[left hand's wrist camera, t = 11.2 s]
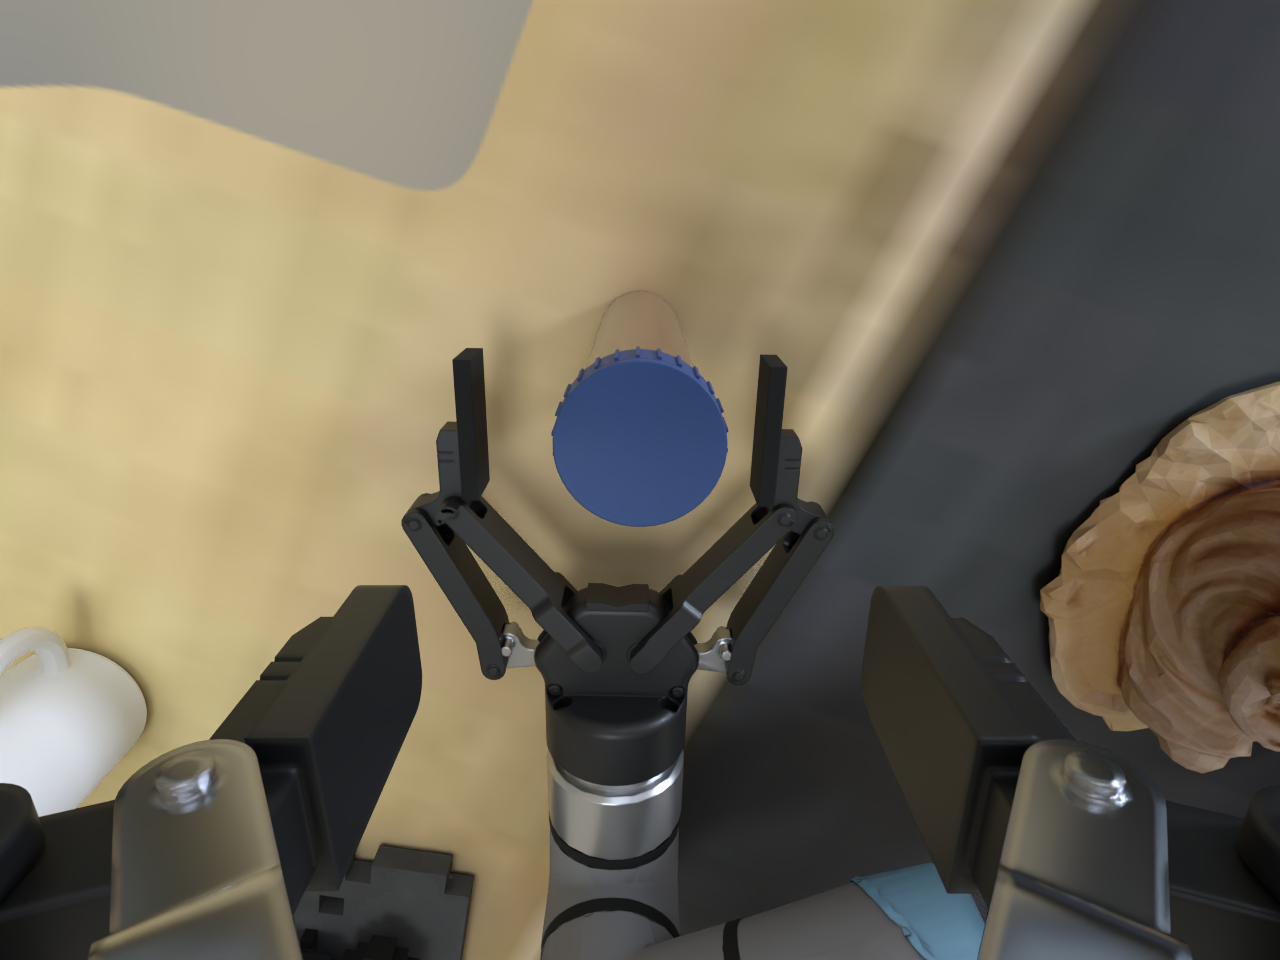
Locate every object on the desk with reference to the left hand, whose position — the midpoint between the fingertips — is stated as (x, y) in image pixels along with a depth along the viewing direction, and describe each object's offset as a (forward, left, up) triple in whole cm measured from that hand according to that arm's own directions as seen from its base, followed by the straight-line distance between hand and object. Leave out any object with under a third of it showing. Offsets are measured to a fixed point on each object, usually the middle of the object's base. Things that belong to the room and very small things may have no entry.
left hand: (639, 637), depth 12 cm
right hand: (+1, 0, -23) cm, 23 cm away
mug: (+36, +18, -29) cm, 50 cm away
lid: (0, 0, -10) cm, 10 cm away
